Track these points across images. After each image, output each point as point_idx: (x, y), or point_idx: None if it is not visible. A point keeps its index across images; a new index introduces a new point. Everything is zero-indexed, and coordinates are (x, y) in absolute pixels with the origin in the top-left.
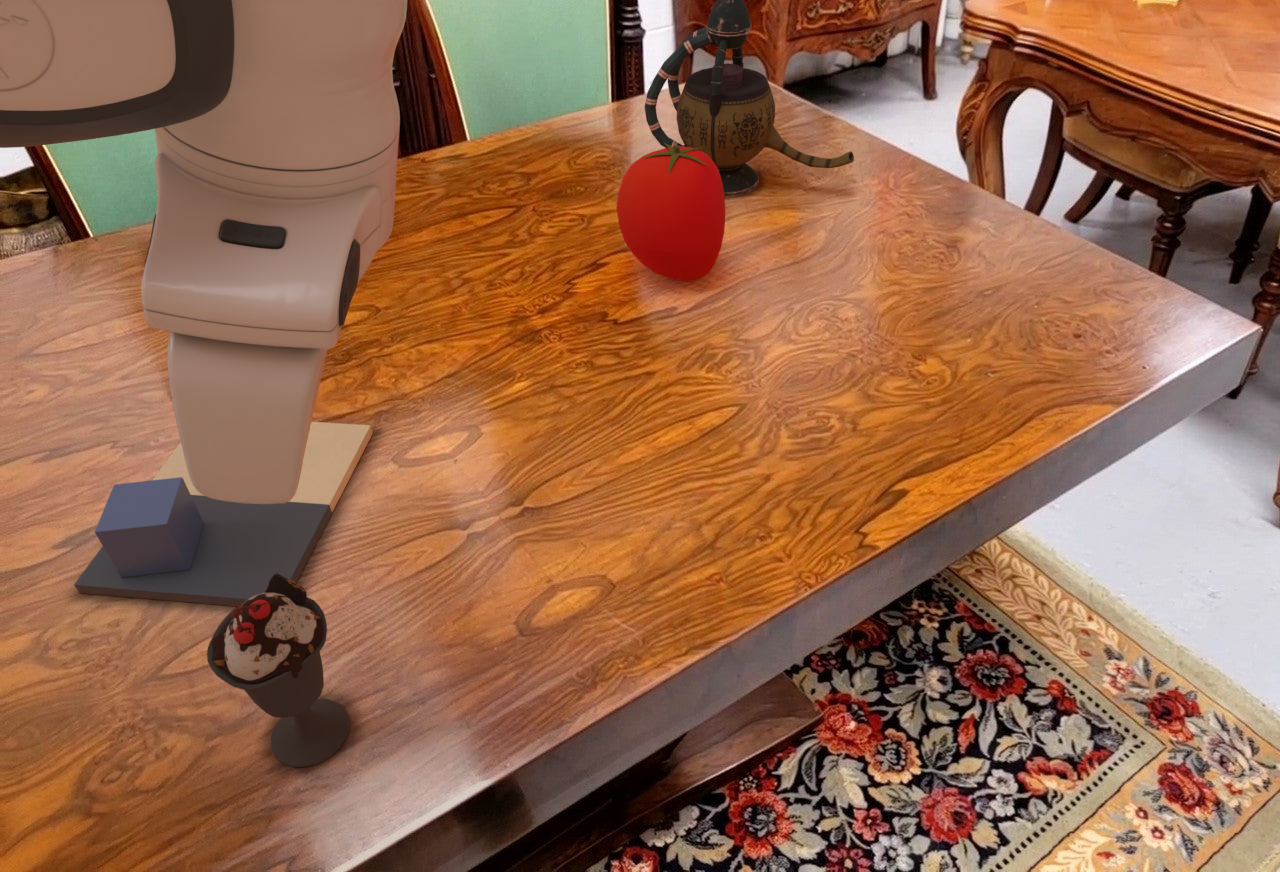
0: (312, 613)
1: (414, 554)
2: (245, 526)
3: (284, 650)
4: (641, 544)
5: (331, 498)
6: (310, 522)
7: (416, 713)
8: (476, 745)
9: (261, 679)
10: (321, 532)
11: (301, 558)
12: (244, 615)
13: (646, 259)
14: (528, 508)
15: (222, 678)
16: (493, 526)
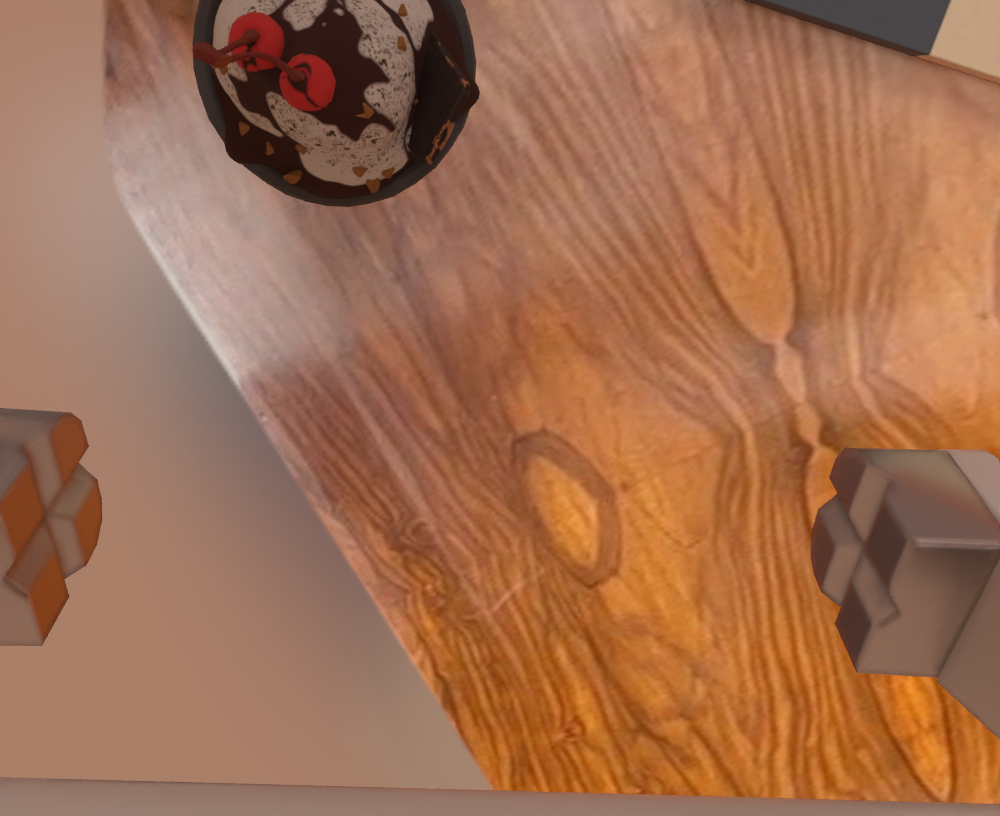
0: (383, 175)
1: (748, 243)
2: None
3: (266, 126)
4: (670, 632)
5: (946, 58)
6: (886, 15)
7: (377, 267)
8: (303, 369)
9: (212, 69)
10: (860, 38)
11: (783, 6)
12: (302, 38)
13: None
14: (807, 454)
15: None
16: (780, 392)
